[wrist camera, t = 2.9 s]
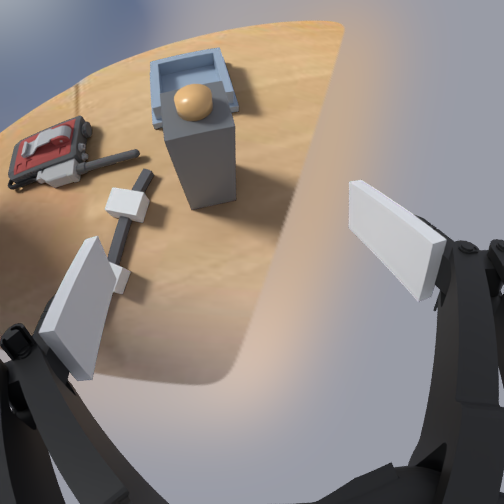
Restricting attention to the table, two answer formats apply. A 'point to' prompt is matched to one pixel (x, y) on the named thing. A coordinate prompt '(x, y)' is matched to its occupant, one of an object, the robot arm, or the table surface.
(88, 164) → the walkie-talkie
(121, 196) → the cable run
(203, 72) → the tray
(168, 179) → the table surface
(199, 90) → the grey post with ball
